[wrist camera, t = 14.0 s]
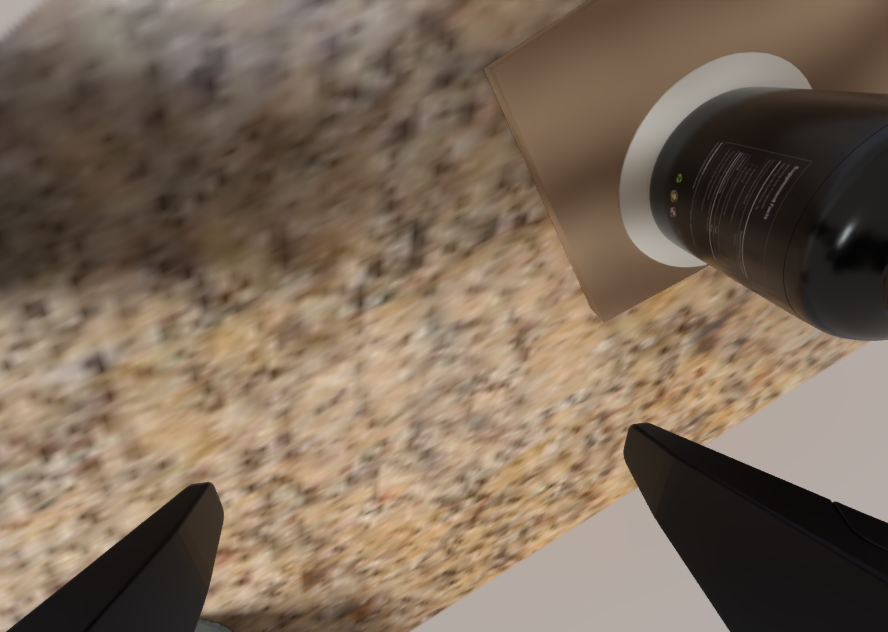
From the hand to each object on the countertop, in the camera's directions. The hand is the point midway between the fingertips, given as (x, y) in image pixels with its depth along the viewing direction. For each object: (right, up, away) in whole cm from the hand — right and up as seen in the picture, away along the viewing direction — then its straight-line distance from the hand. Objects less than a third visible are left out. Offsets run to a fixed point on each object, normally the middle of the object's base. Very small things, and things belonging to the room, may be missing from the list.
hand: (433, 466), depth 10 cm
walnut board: (+12, +12, +10) cm, 20 cm away
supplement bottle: (+12, +10, +10) cm, 18 cm away
